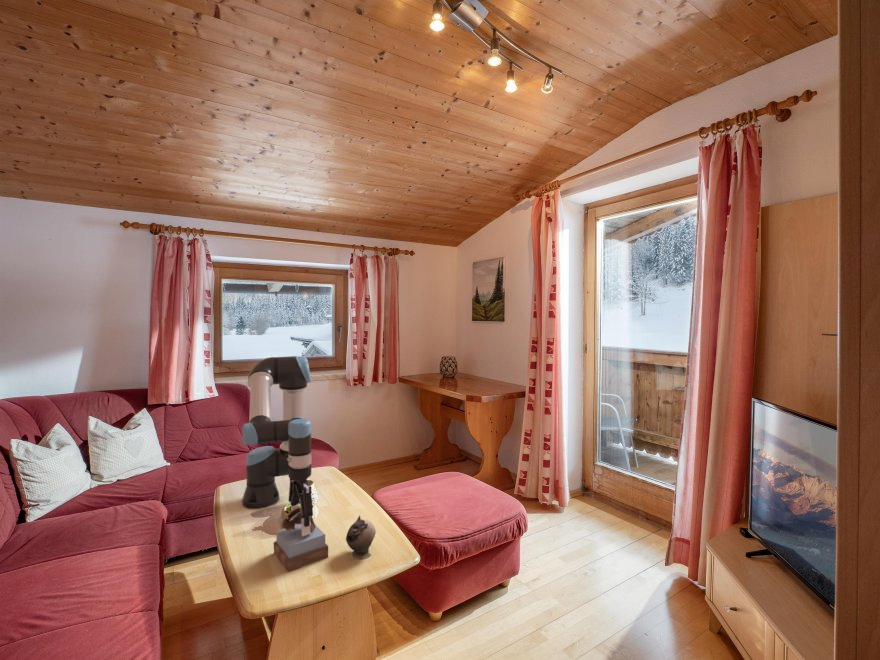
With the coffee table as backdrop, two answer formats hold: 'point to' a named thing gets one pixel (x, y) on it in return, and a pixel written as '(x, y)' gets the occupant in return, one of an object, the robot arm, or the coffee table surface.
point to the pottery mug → (296, 520)
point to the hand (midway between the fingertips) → (300, 528)
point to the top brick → (299, 540)
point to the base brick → (300, 557)
